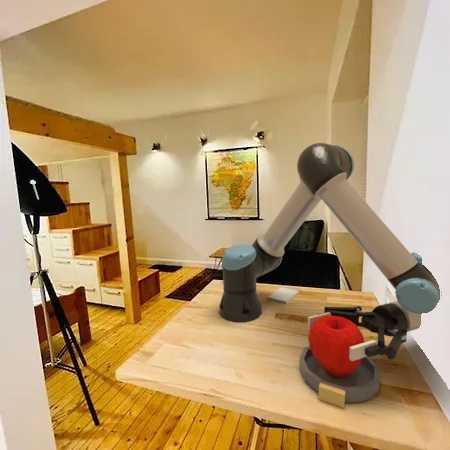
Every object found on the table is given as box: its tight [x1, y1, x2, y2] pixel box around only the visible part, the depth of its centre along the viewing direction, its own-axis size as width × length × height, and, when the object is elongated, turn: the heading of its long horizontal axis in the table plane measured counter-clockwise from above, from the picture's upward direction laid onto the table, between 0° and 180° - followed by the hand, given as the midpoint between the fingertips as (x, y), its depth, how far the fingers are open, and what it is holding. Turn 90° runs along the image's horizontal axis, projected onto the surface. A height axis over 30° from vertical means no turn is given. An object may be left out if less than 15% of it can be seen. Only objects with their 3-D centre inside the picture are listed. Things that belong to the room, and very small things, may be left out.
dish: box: [299, 345, 381, 409], centre depth 63 cm, size 17×18×3 cm
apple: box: [308, 316, 365, 378], centre depth 62 cm, size 12×12×13 cm
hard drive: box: [266, 286, 300, 305], centre depth 108 cm, size 2×8×12 cm
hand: (327, 336), depth 61 cm, fingers open, 13 cm apart
